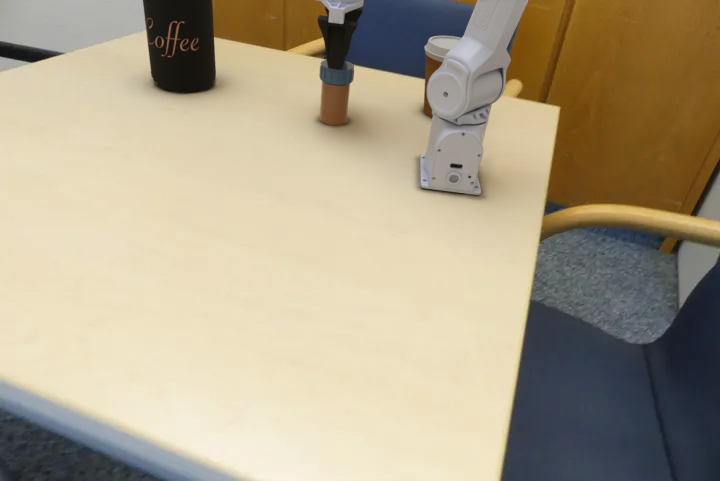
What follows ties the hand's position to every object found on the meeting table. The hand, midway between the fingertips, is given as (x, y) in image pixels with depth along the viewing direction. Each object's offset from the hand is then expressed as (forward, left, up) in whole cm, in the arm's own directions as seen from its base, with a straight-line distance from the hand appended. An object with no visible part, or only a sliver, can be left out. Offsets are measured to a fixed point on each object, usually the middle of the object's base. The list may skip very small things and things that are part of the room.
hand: (337, 61), depth 84 cm
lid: (0, 0, -1) cm, 1 cm away
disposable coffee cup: (+9, -18, -10) cm, 22 cm away
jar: (0, 0, -9) cm, 9 cm away
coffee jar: (+8, +27, -10) cm, 30 cm away
